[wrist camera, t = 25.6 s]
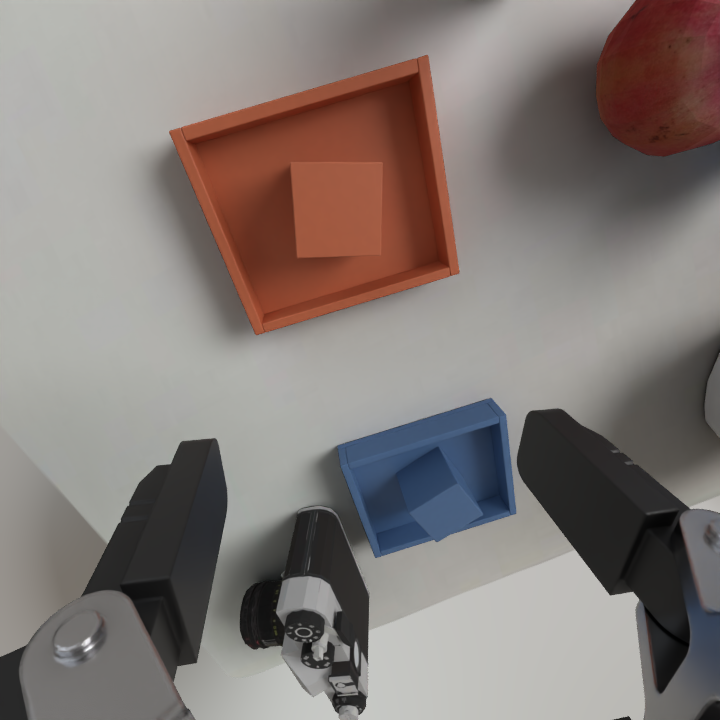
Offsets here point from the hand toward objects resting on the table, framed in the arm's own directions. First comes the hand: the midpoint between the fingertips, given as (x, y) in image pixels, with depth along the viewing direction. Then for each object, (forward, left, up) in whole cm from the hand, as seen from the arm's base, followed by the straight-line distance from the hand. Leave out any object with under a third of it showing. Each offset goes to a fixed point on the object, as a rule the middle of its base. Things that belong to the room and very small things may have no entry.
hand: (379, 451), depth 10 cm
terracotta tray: (+1, +5, -17) cm, 18 cm away
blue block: (+3, -18, -17) cm, 25 cm away
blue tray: (+3, -18, -17) cm, 26 cm away
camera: (-11, -25, -18) cm, 33 cm away
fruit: (+20, +7, -18) cm, 28 cm away
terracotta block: (+2, +5, -17) cm, 18 cm away
